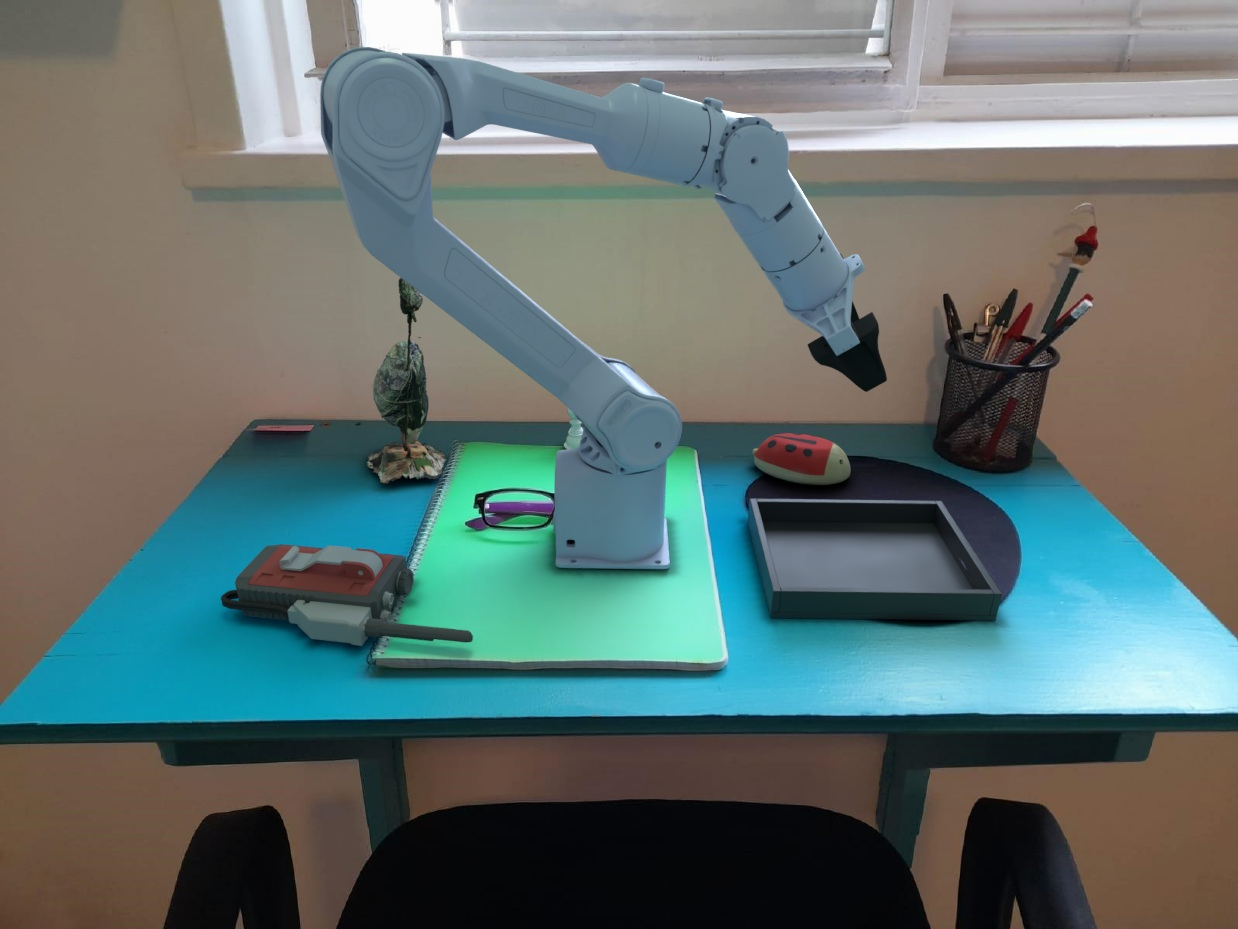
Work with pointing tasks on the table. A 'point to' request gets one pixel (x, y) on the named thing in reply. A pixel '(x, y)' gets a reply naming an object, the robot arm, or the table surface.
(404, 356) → the plant with pod
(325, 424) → the table surface
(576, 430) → the chess pawn
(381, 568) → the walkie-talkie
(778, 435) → the ladybug figurine
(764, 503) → the tray
